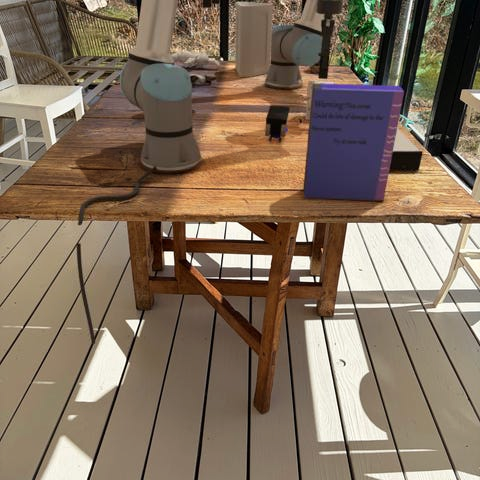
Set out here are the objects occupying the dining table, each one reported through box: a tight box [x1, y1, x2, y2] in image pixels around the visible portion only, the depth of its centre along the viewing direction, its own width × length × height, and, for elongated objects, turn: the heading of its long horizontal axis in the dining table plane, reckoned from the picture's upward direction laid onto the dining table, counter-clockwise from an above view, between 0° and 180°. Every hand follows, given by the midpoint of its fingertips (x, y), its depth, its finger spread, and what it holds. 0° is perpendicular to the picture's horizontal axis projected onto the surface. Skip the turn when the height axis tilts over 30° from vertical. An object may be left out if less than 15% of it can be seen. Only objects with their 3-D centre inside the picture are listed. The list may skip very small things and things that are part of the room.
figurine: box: [190, 73, 218, 85], centre depth 194 cm, size 24×8×30 cm
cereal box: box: [302, 83, 405, 202], centre depth 102 cm, size 17×5×24 cm, turn 86°
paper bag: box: [234, 1, 274, 78], centre depth 210 cm, size 19×15×28 cm
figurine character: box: [264, 105, 290, 143], centre depth 140 cm, size 7×8×15 cm
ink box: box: [304, 80, 336, 121], centre depth 155 cm, size 8×5×12 cm, turn 80°
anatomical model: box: [308, 60, 320, 74], centre depth 220 cm, size 13×9×15 cm
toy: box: [170, 50, 221, 69], centre depth 223 cm, size 24×25×7 cm
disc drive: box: [389, 127, 424, 172], centre depth 128 cm, size 18×22×5 cm
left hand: (323, 73), depth 151 cm, fingers open, 13 cm apart
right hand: (211, 5), depth 159 cm, fingers open, 13 cm apart
